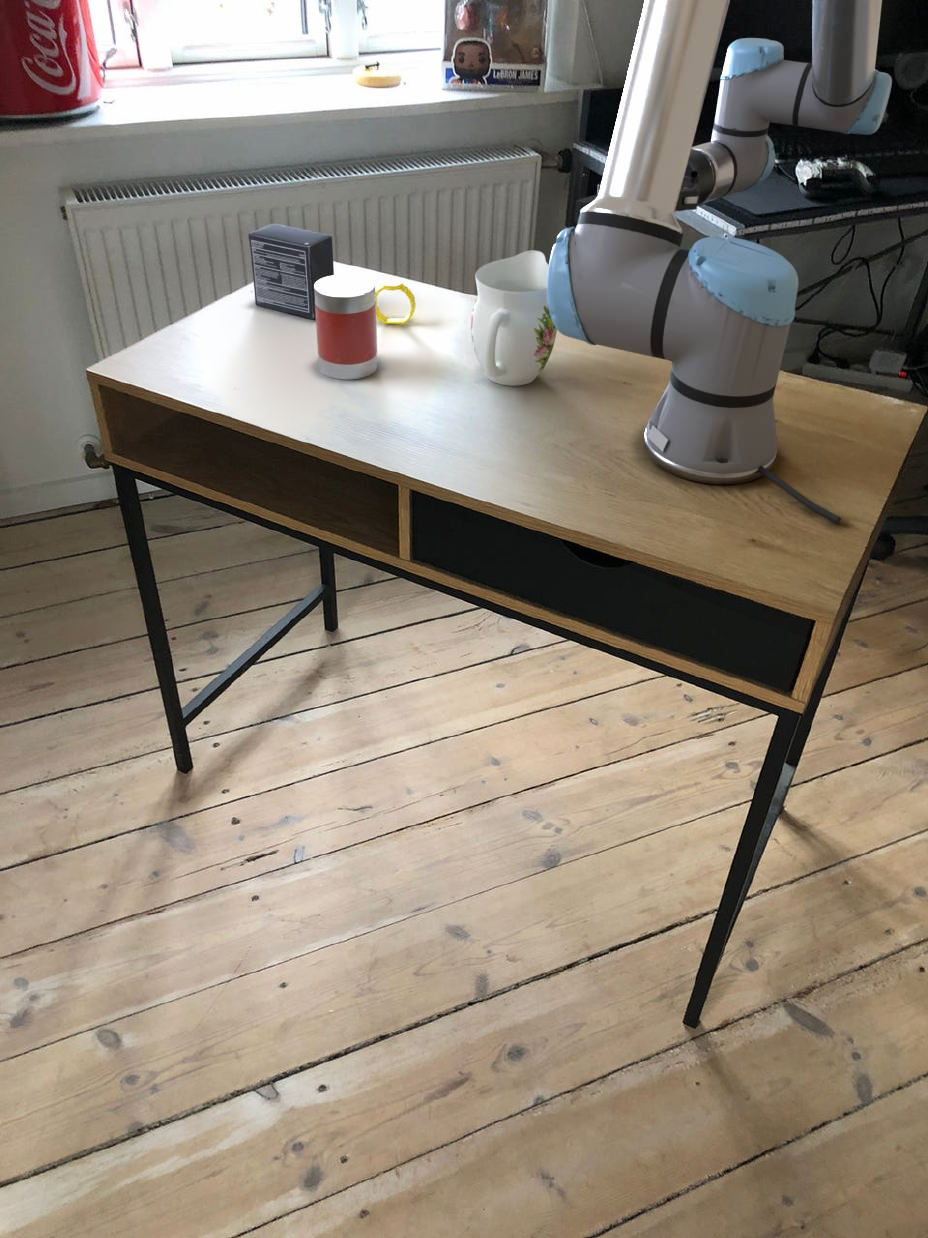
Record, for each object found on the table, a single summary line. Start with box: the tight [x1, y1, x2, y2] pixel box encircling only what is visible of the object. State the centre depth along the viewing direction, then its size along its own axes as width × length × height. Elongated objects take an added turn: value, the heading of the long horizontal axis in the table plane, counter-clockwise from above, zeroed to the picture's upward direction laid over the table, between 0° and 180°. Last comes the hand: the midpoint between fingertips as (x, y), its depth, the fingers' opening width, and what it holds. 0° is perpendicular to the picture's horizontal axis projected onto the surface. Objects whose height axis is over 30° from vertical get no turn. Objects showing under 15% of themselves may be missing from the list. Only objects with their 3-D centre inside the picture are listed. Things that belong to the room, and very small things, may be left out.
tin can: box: [314, 274, 378, 381], centre depth 132 cm, size 8×8×11 cm
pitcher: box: [470, 249, 558, 387], centre depth 130 cm, size 11×18×14 cm, turn 160°
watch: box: [375, 278, 417, 325], centre depth 145 cm, size 6×3×6 cm, turn 81°
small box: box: [247, 223, 335, 320], centre depth 148 cm, size 11×6×10 cm, turn 62°
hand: (579, 212), depth 129 cm, fingers closed
